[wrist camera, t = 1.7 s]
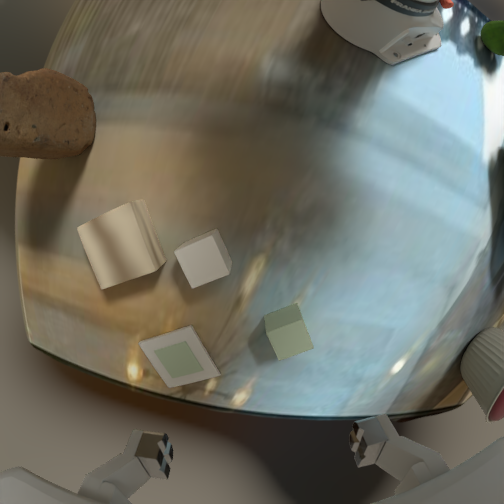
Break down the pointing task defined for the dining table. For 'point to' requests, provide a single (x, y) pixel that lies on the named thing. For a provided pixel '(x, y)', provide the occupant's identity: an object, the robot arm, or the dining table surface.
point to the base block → (122, 244)
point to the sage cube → (287, 332)
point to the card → (179, 357)
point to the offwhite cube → (204, 258)
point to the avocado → (494, 36)
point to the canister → (486, 371)
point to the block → (44, 115)
